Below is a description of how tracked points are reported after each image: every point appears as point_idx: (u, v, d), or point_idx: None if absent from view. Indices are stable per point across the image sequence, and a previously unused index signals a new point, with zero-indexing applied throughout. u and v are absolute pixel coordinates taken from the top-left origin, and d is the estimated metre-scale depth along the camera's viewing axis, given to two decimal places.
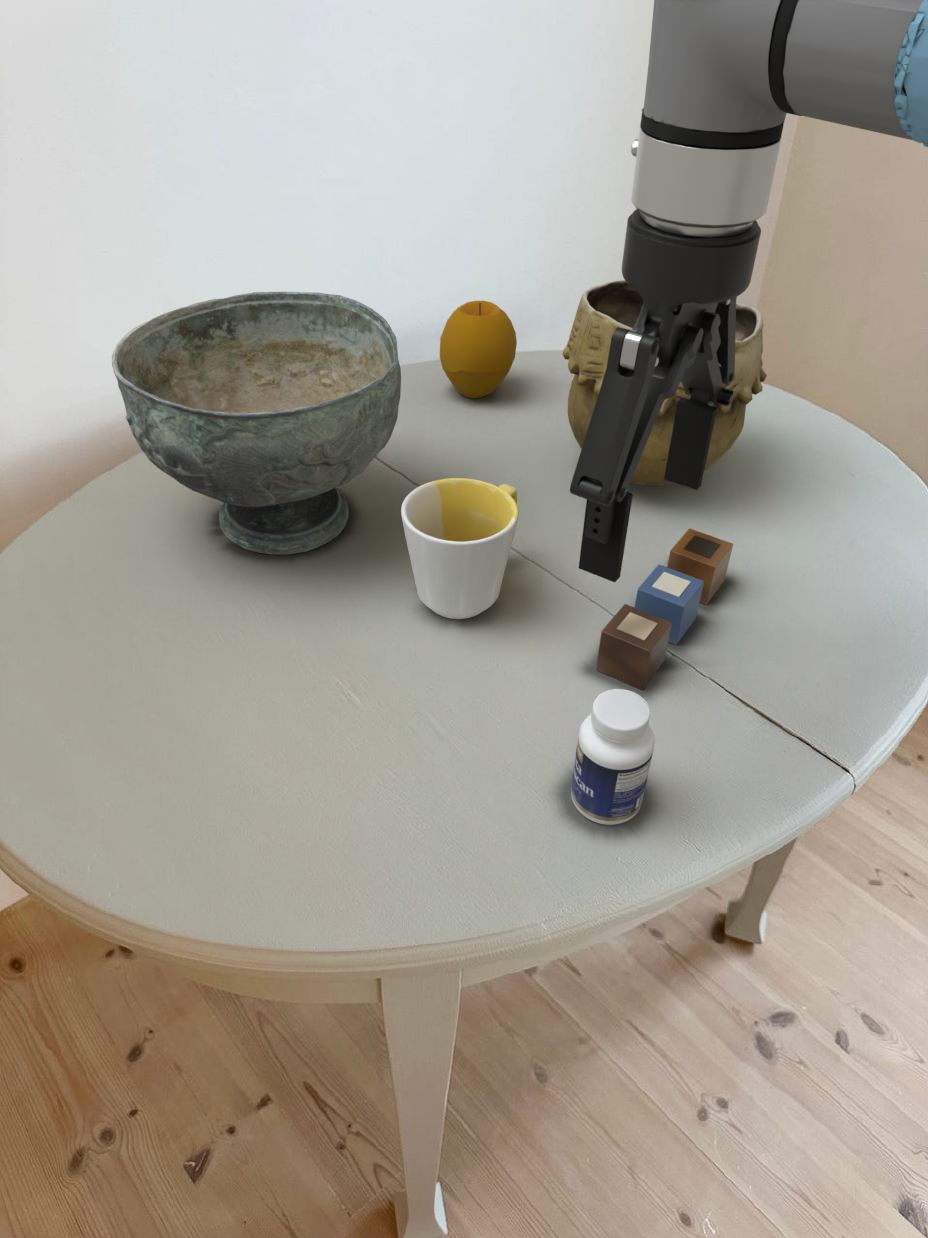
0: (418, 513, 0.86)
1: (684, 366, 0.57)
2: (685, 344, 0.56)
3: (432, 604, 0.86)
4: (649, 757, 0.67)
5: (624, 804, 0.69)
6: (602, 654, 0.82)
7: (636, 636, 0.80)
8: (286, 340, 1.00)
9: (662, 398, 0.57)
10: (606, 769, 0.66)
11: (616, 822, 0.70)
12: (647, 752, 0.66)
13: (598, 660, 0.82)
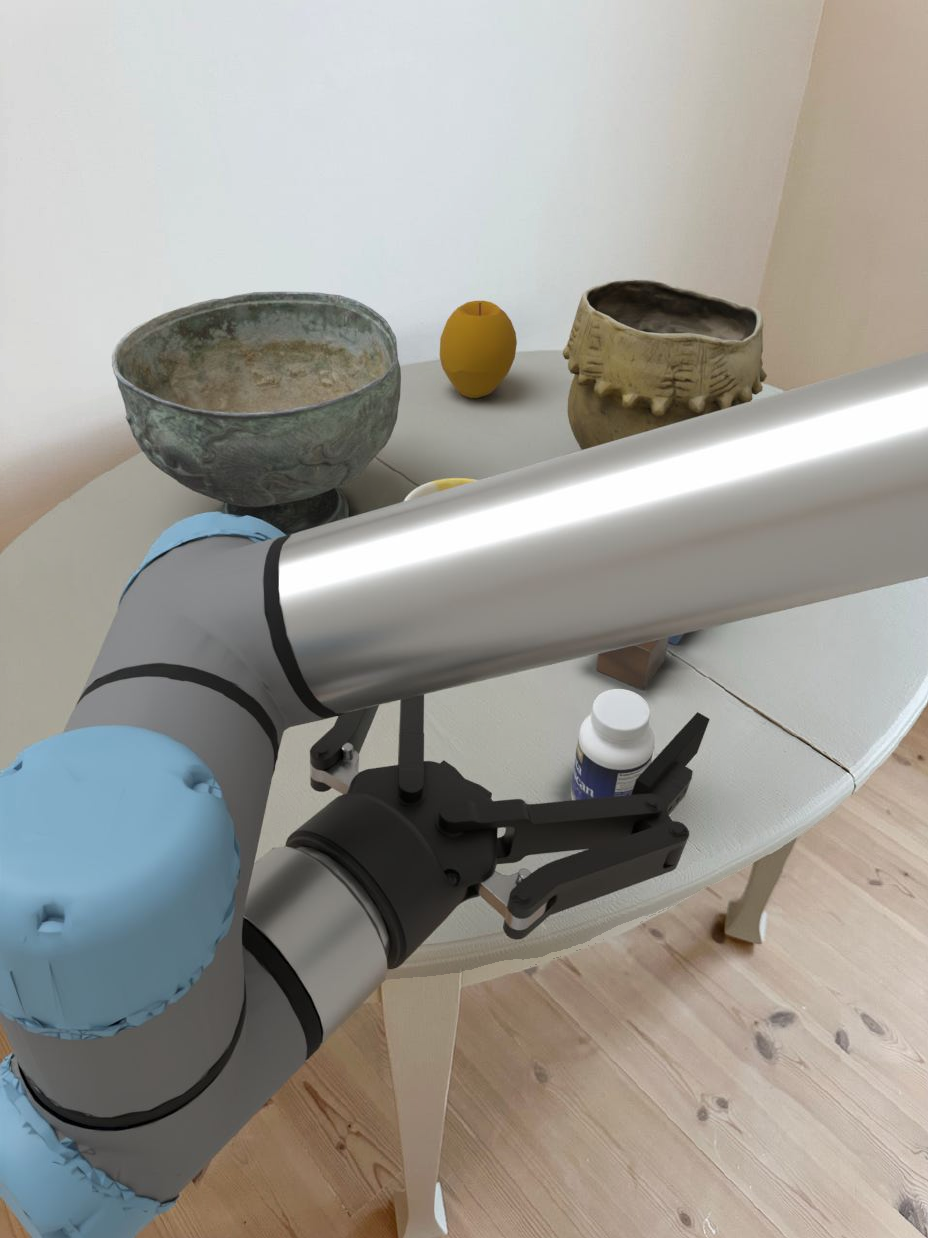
0: None
1: (487, 808, 0.45)
2: (469, 826, 0.44)
3: None
4: (649, 757, 0.67)
5: None
6: (602, 654, 0.82)
7: None
8: (286, 340, 1.00)
9: (531, 811, 0.46)
10: (606, 769, 0.66)
11: None
12: (647, 752, 0.66)
13: (598, 660, 0.82)
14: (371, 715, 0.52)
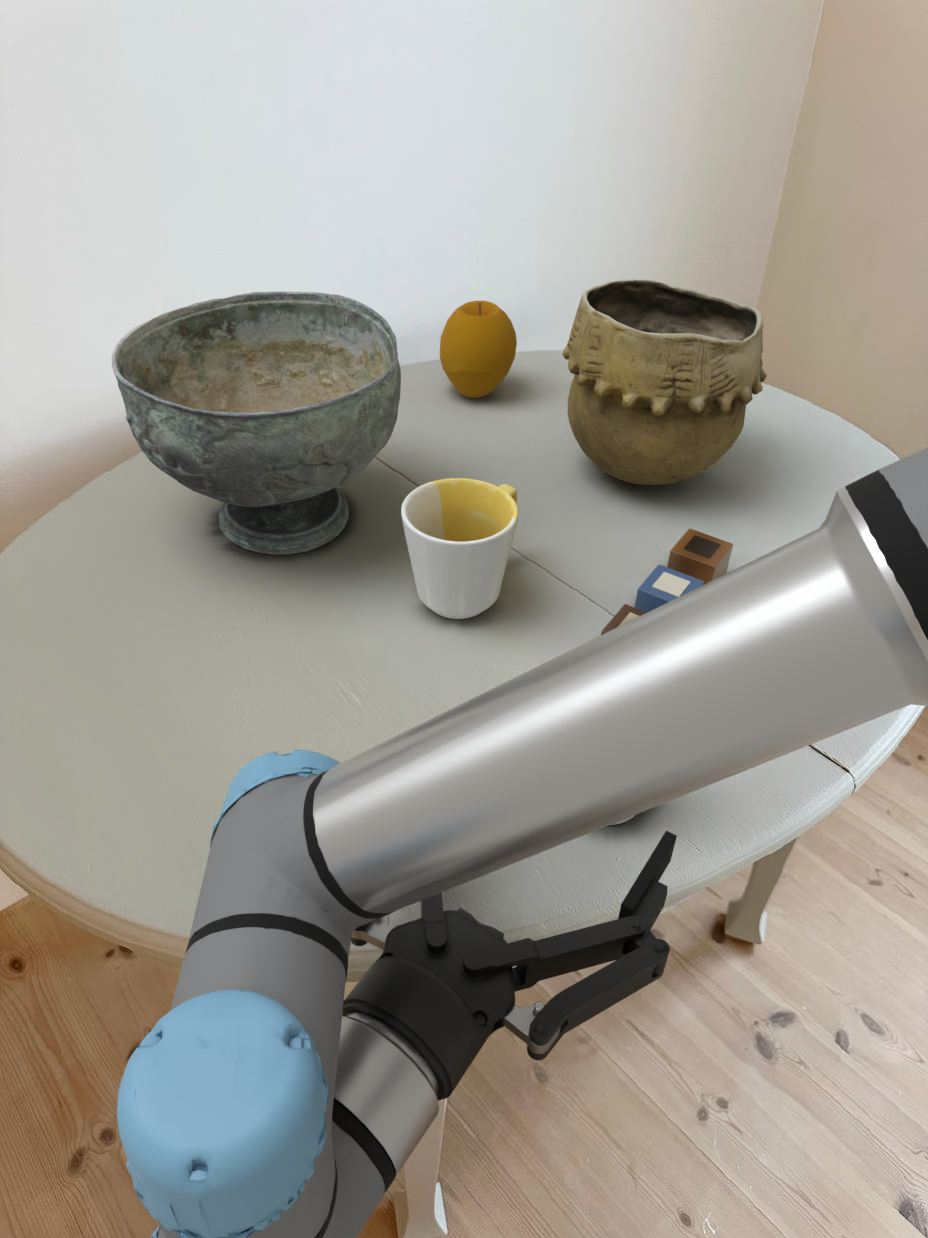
0: (418, 513, 0.86)
1: (502, 951, 0.54)
2: (489, 970, 0.54)
3: (432, 604, 0.86)
4: None
5: None
6: None
7: None
8: (286, 340, 1.00)
9: (538, 947, 0.55)
10: None
11: (616, 822, 0.70)
12: None
13: None
14: None
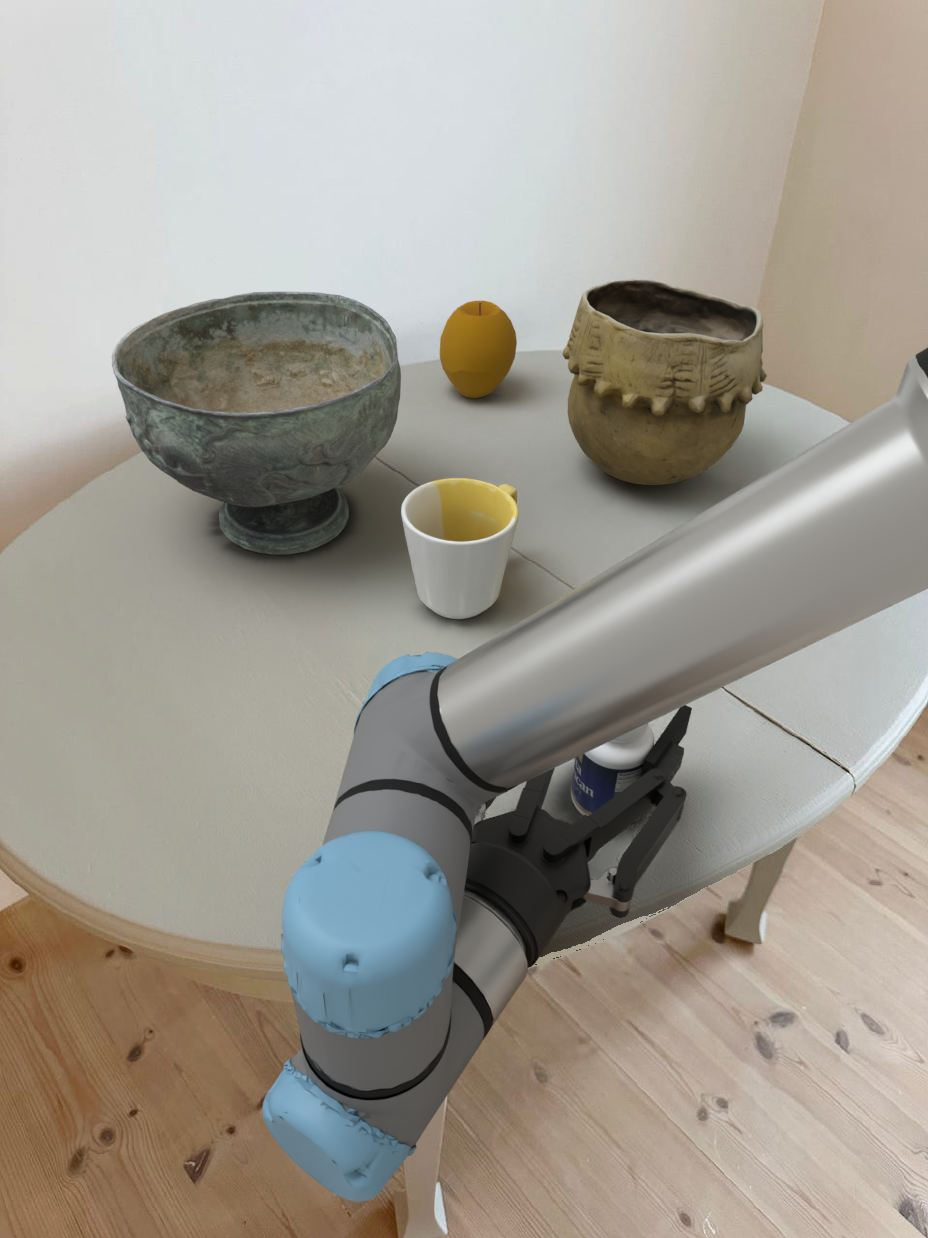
0: (418, 513, 0.86)
1: (570, 832, 0.60)
2: (567, 851, 0.60)
3: (432, 604, 0.86)
4: None
5: None
6: None
7: None
8: (286, 340, 1.00)
9: (593, 819, 0.62)
10: (606, 769, 0.66)
11: None
12: (647, 752, 0.66)
13: None
14: None
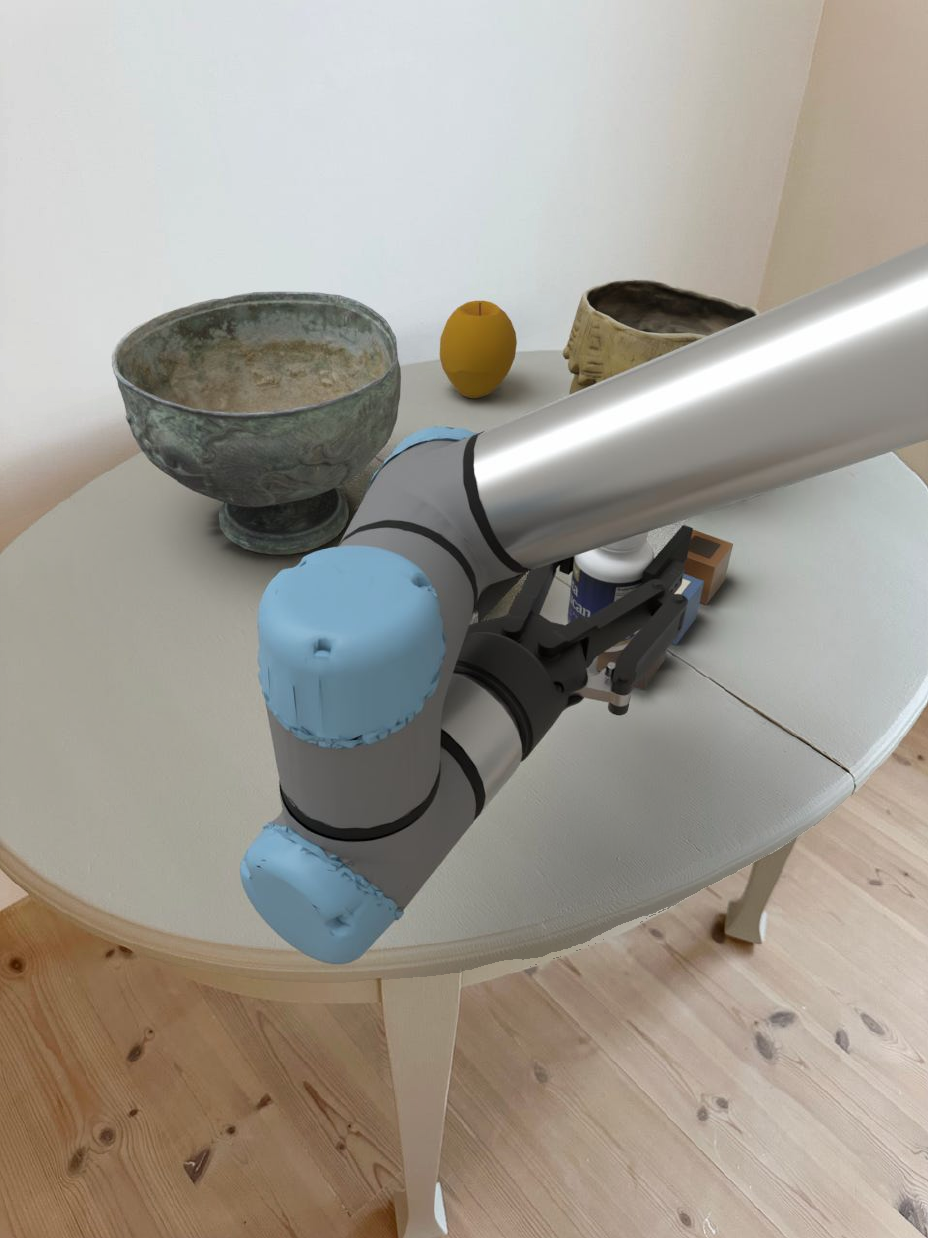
0: None
1: (566, 630, 0.58)
2: (563, 646, 0.57)
3: None
4: None
5: None
6: (602, 654, 0.82)
7: None
8: (286, 340, 1.00)
9: (591, 621, 0.59)
10: (604, 583, 0.64)
11: (614, 648, 0.67)
12: (646, 565, 0.64)
13: (598, 660, 0.82)
14: (500, 592, 0.64)
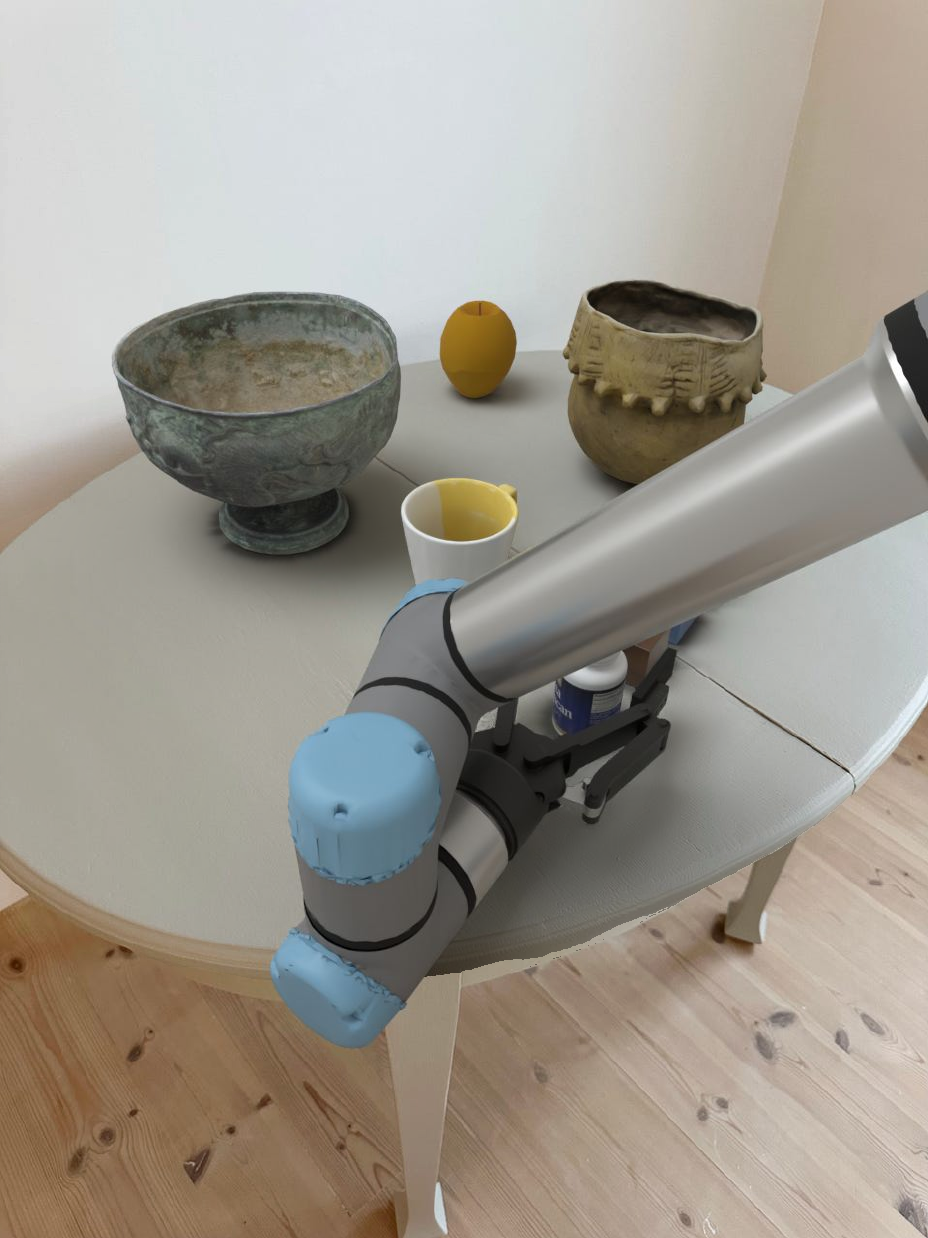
0: (418, 513, 0.86)
1: (550, 745, 0.66)
2: (545, 760, 0.66)
3: None
4: (622, 680, 0.73)
5: None
6: None
7: None
8: (286, 340, 1.00)
9: (576, 738, 0.68)
10: (583, 691, 0.72)
11: None
12: (620, 675, 0.72)
13: None
14: None
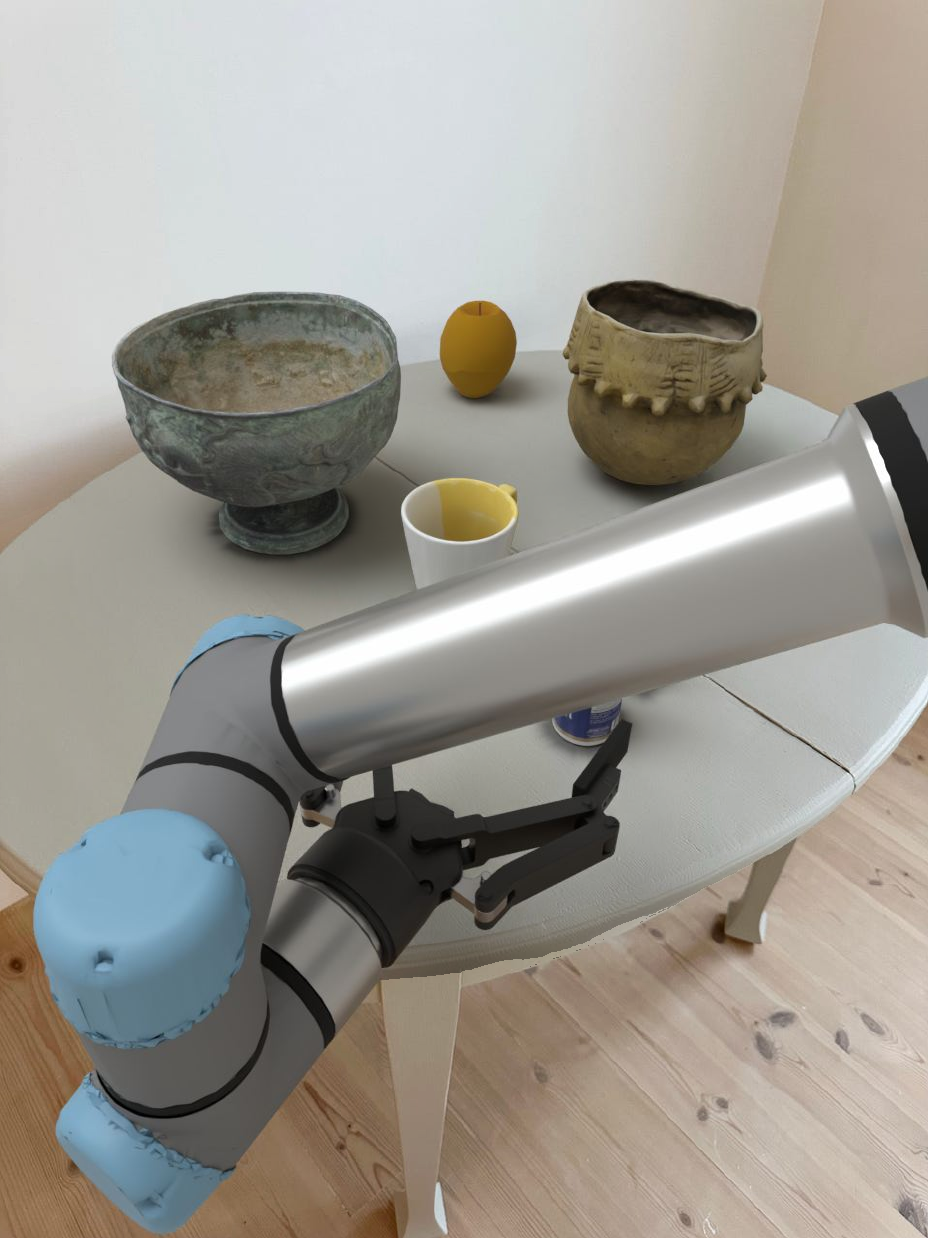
0: (418, 513, 0.86)
1: (450, 825, 0.54)
2: (436, 842, 0.53)
3: None
4: None
5: (600, 725, 0.75)
6: None
7: None
8: (286, 340, 1.00)
9: (487, 823, 0.55)
10: None
11: (593, 743, 0.76)
12: None
13: None
14: None
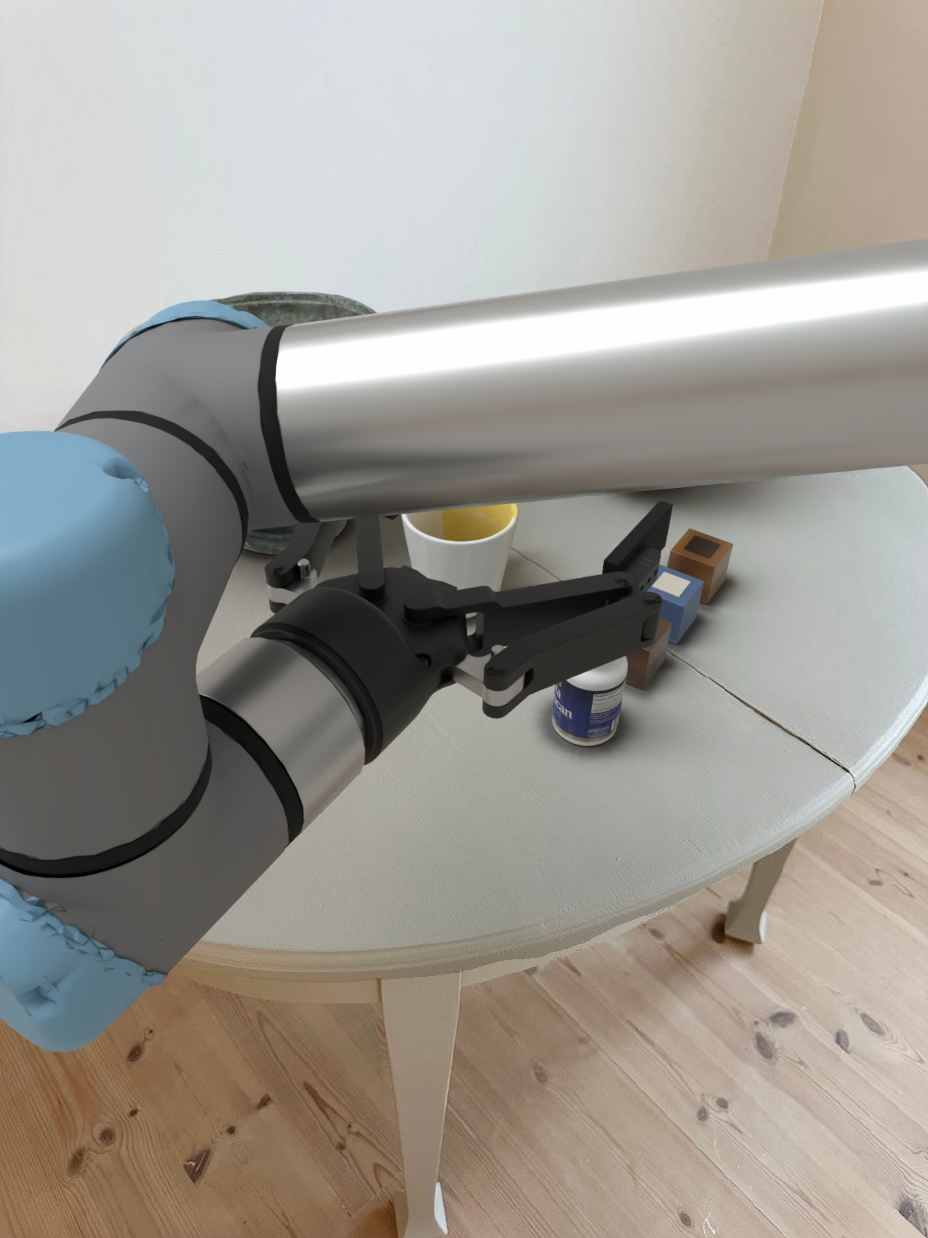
0: (418, 513, 0.86)
1: (453, 596, 0.43)
2: (435, 614, 0.43)
3: None
4: (622, 680, 0.73)
5: (600, 725, 0.75)
6: None
7: None
8: None
9: (498, 597, 0.44)
10: (583, 691, 0.72)
11: (593, 743, 0.76)
12: (620, 675, 0.72)
13: None
14: (327, 542, 0.50)
